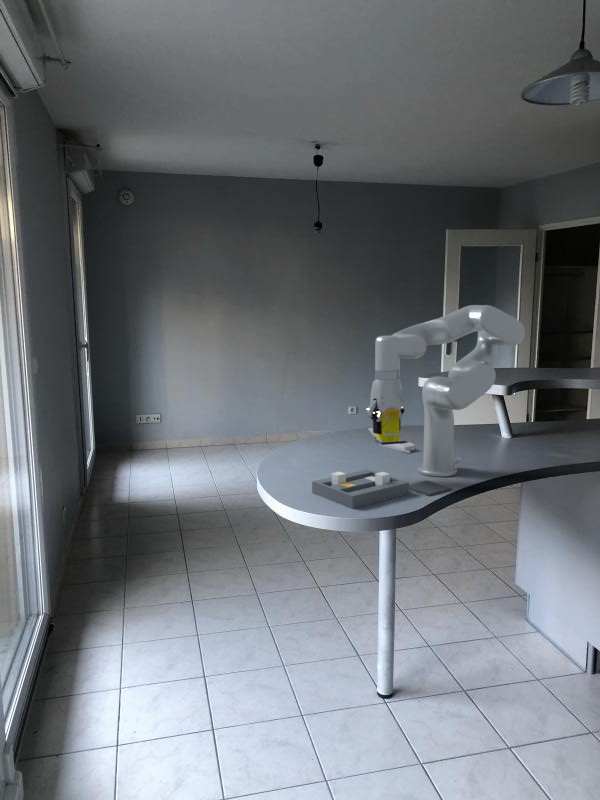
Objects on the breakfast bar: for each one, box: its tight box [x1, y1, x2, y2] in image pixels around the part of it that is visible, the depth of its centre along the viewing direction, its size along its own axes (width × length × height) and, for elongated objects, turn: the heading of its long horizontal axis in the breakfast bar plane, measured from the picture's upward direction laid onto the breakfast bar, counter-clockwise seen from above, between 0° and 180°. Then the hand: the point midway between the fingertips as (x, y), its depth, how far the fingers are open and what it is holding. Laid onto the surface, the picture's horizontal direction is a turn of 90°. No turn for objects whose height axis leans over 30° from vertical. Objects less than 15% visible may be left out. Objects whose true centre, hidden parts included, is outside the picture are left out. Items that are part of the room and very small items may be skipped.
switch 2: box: [375, 471, 391, 486], centre depth 184 cm, size 3×3×4 cm
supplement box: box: [374, 409, 400, 446], centre depth 196 cm, size 6×6×11 cm
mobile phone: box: [367, 427, 416, 454], centre depth 244 cm, size 6×6×25 cm
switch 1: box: [331, 471, 347, 485], centre depth 184 cm, size 3×3×4 cm
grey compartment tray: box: [311, 469, 410, 510], centre depth 184 cm, size 22×18×4 cm
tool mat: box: [409, 480, 453, 497], centre depth 189 cm, size 10×10×1 cm
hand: (386, 431), depth 197 cm, fingers closed on supplement box, 7 cm apart
